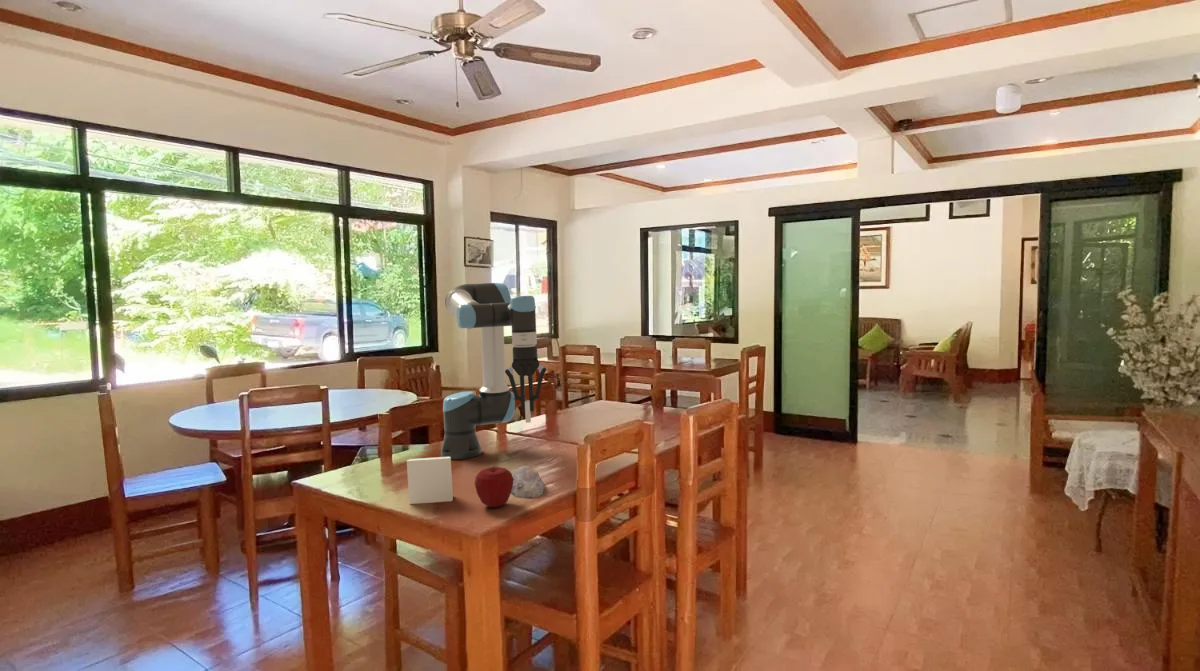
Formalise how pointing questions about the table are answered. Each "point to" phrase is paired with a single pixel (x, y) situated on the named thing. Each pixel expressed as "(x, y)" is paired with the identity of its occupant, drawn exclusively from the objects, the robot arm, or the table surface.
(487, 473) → the apple
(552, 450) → the table surface
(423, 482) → the wall
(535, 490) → the stone
